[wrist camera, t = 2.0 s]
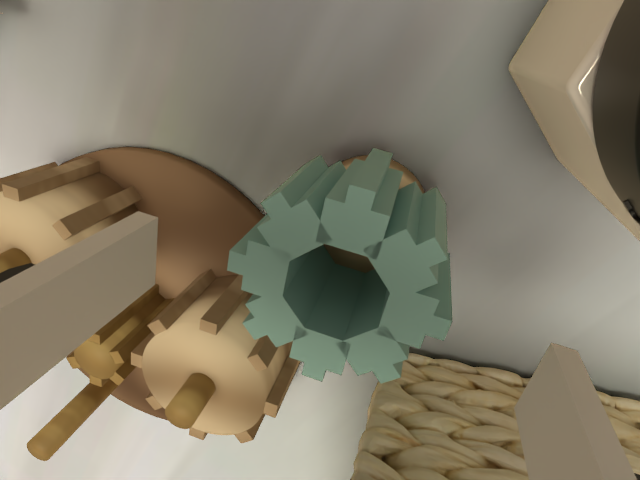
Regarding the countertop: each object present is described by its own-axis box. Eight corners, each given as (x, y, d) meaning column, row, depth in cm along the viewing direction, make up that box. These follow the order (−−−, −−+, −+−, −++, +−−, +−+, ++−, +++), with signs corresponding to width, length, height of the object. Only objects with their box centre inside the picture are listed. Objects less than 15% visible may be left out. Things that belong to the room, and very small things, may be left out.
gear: (292, 125, 17) (241, 153, 13) (479, 176, 16) (493, 225, 12) (264, 281, 21) (217, 344, 16) (418, 331, 20) (412, 413, 15)
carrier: (15, 108, 24) (-162, 134, 17) (343, 204, 21) (296, 282, 14) (45, 361, 33) (-65, 448, 26) (281, 451, 30) (233, 576, 23)
